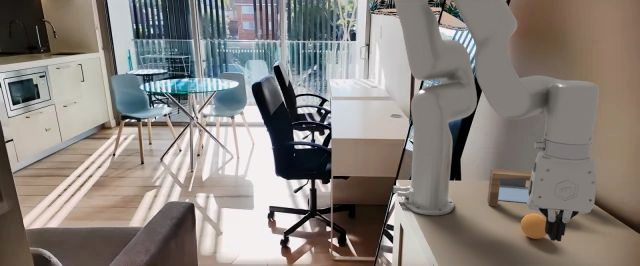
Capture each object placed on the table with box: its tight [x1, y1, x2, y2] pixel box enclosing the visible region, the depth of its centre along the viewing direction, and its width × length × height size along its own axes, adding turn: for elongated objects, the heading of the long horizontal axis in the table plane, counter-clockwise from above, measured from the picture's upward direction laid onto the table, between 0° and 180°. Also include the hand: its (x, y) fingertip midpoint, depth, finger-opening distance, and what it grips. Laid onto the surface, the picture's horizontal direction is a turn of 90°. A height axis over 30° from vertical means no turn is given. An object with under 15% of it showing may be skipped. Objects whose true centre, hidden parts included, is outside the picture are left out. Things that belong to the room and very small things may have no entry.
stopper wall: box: [500, 178, 527, 187], centre depth 112 cm, size 9×1×2 cm, turn 76°
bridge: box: [486, 168, 532, 207], centre depth 100 cm, size 3×14×9 cm, turn 76°
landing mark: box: [498, 185, 529, 204], centre depth 108 cm, size 10×10×1 cm
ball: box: [520, 212, 548, 240], centre depth 86 cm, size 6×6×6 cm
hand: (553, 237), depth 76 cm, fingers closed
